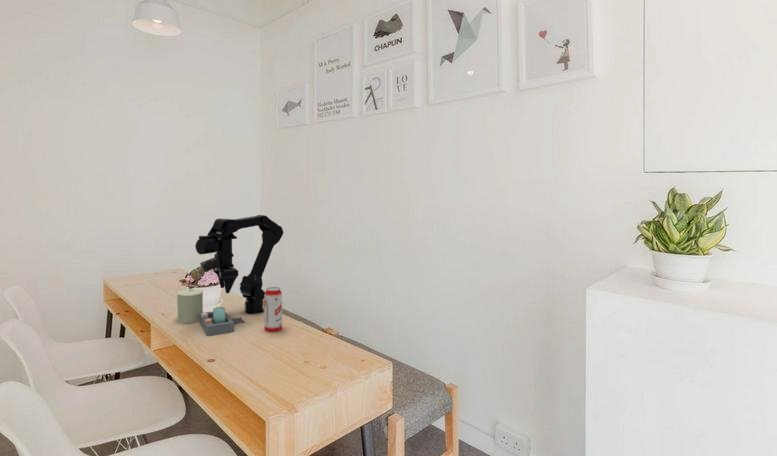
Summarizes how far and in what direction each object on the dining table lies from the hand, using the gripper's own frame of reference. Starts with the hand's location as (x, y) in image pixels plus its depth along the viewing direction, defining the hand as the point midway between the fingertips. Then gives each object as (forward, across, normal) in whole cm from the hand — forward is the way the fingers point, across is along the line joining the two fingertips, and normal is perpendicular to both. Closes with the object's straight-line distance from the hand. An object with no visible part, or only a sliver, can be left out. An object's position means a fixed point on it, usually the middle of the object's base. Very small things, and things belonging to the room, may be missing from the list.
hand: (224, 290), depth 158 cm
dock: (+12, +6, -4) cm, 15 cm away
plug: (+12, +10, -4) cm, 16 cm away
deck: (+12, +3, +3) cm, 13 cm away
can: (+13, -8, -11) cm, 19 cm away
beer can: (+13, +19, +13) cm, 26 cm away
